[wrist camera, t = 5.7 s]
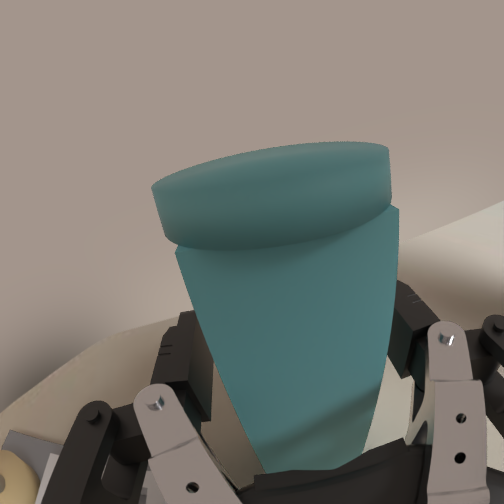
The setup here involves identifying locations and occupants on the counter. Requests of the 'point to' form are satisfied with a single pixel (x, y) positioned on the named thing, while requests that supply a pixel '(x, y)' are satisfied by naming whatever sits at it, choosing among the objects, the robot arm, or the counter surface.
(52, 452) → the housing
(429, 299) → the counter surface
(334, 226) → the lidded tumbler
